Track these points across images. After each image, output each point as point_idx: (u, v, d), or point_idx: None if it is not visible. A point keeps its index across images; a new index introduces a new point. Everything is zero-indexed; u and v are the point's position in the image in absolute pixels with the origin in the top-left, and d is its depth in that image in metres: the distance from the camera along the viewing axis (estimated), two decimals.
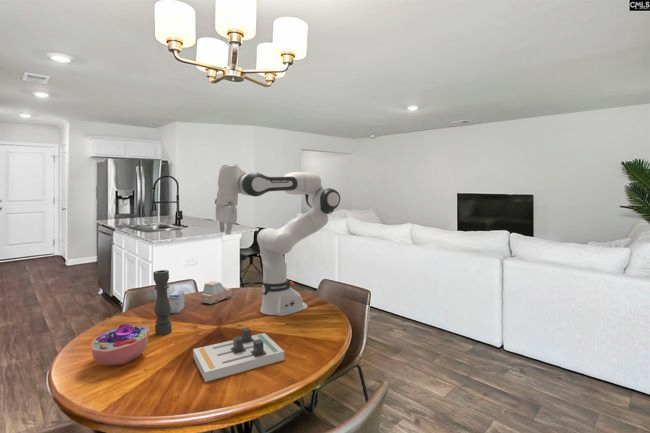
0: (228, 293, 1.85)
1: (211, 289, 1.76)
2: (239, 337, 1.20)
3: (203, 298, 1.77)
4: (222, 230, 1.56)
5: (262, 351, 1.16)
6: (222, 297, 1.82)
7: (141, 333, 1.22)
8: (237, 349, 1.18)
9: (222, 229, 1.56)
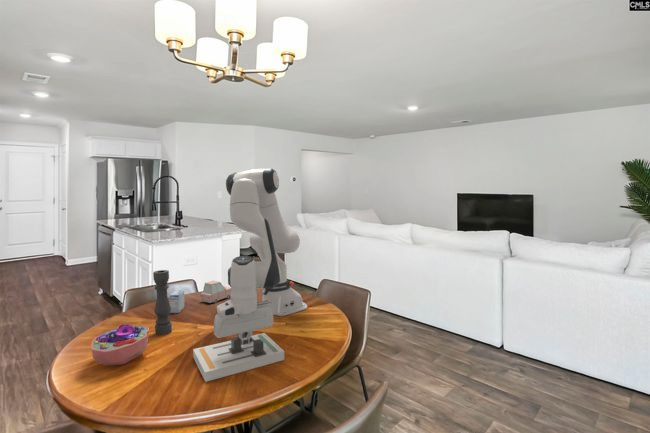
0: (228, 292, 1.86)
1: (210, 289, 1.78)
2: (237, 338, 1.19)
3: (203, 297, 1.79)
4: None
5: (262, 351, 1.16)
6: (222, 296, 1.83)
7: (141, 333, 1.22)
8: (235, 350, 1.17)
9: None
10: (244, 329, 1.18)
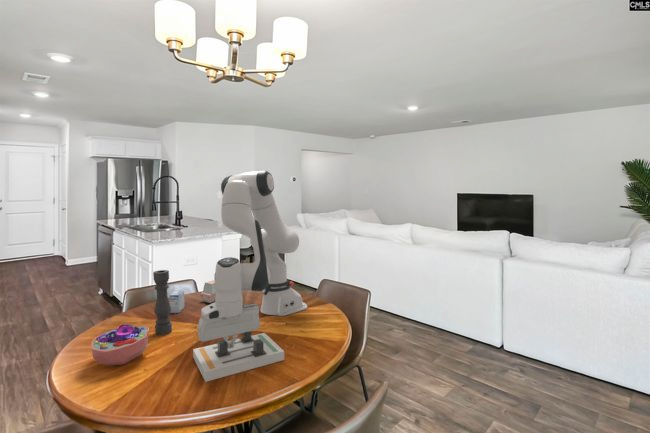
0: None
1: (210, 288, 1.78)
2: (224, 341, 1.17)
3: (203, 297, 1.79)
4: None
5: (262, 351, 1.16)
6: None
7: (141, 333, 1.22)
8: (221, 353, 1.15)
9: None
10: (229, 332, 1.16)
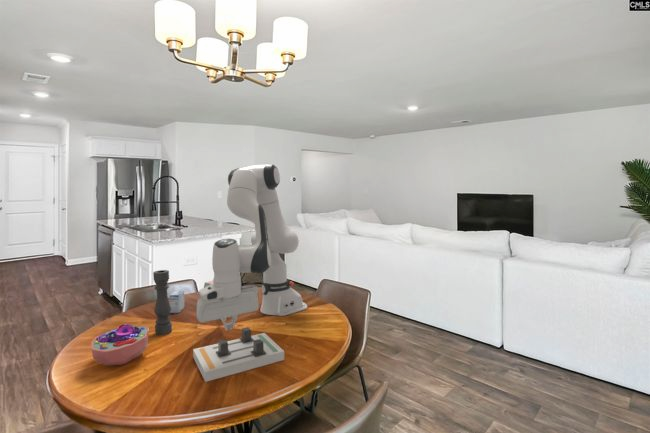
0: None
1: None
2: (224, 341, 1.17)
3: None
4: None
5: (262, 351, 1.16)
6: None
7: (141, 333, 1.22)
8: (222, 353, 1.15)
9: None
10: (228, 313, 1.15)
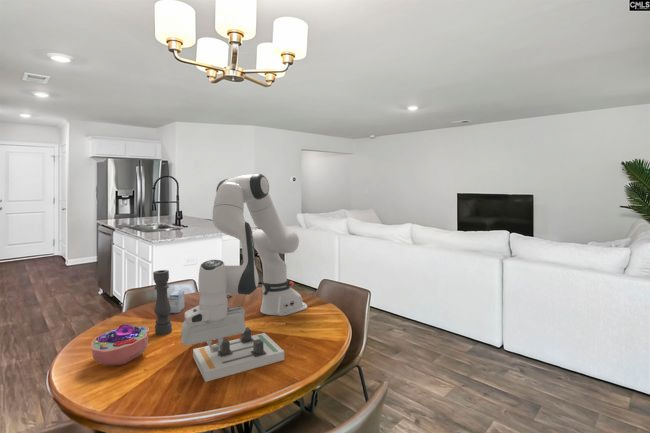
0: None
1: None
2: (226, 340, 1.17)
3: None
4: None
5: (262, 351, 1.16)
6: None
7: (141, 333, 1.22)
8: (224, 352, 1.15)
9: None
10: (213, 336, 1.13)
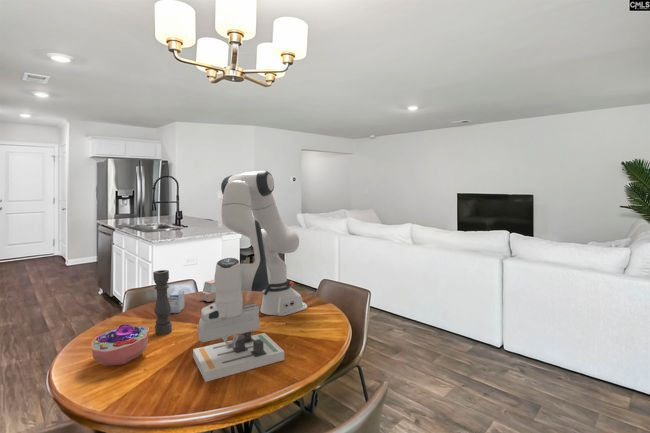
0: None
1: (209, 288, 1.80)
2: (241, 337, 1.20)
3: (202, 296, 1.81)
4: None
5: (262, 351, 1.16)
6: None
7: (141, 333, 1.22)
8: (239, 349, 1.18)
9: None
10: (229, 333, 1.16)
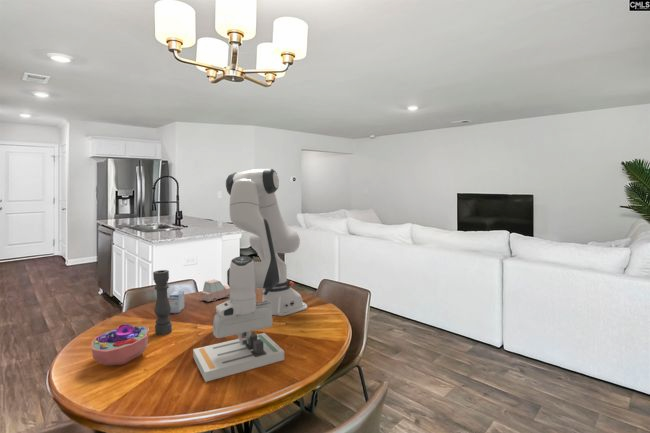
0: (228, 292, 1.88)
1: (209, 287, 1.80)
2: (254, 334, 1.22)
3: (202, 295, 1.81)
4: None
5: (262, 351, 1.16)
6: (221, 295, 1.84)
7: (141, 333, 1.22)
8: (252, 345, 1.20)
9: None
10: (243, 329, 1.18)
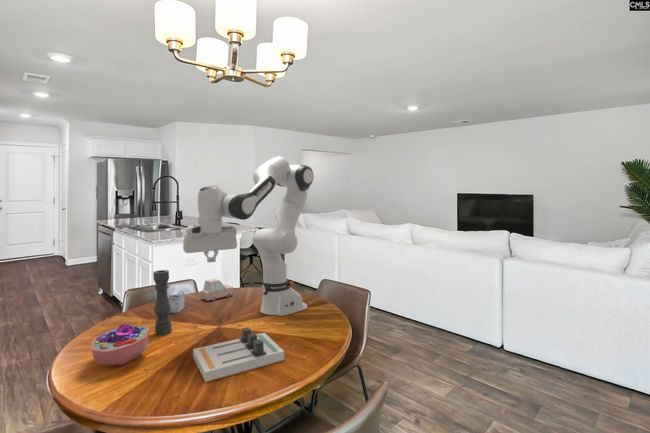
0: (229, 291, 1.88)
1: (209, 286, 1.82)
2: (254, 334, 1.22)
3: (203, 294, 1.83)
4: None
5: (262, 351, 1.16)
6: (221, 295, 1.86)
7: (141, 333, 1.22)
8: (252, 345, 1.20)
9: None
10: (210, 248, 1.36)
